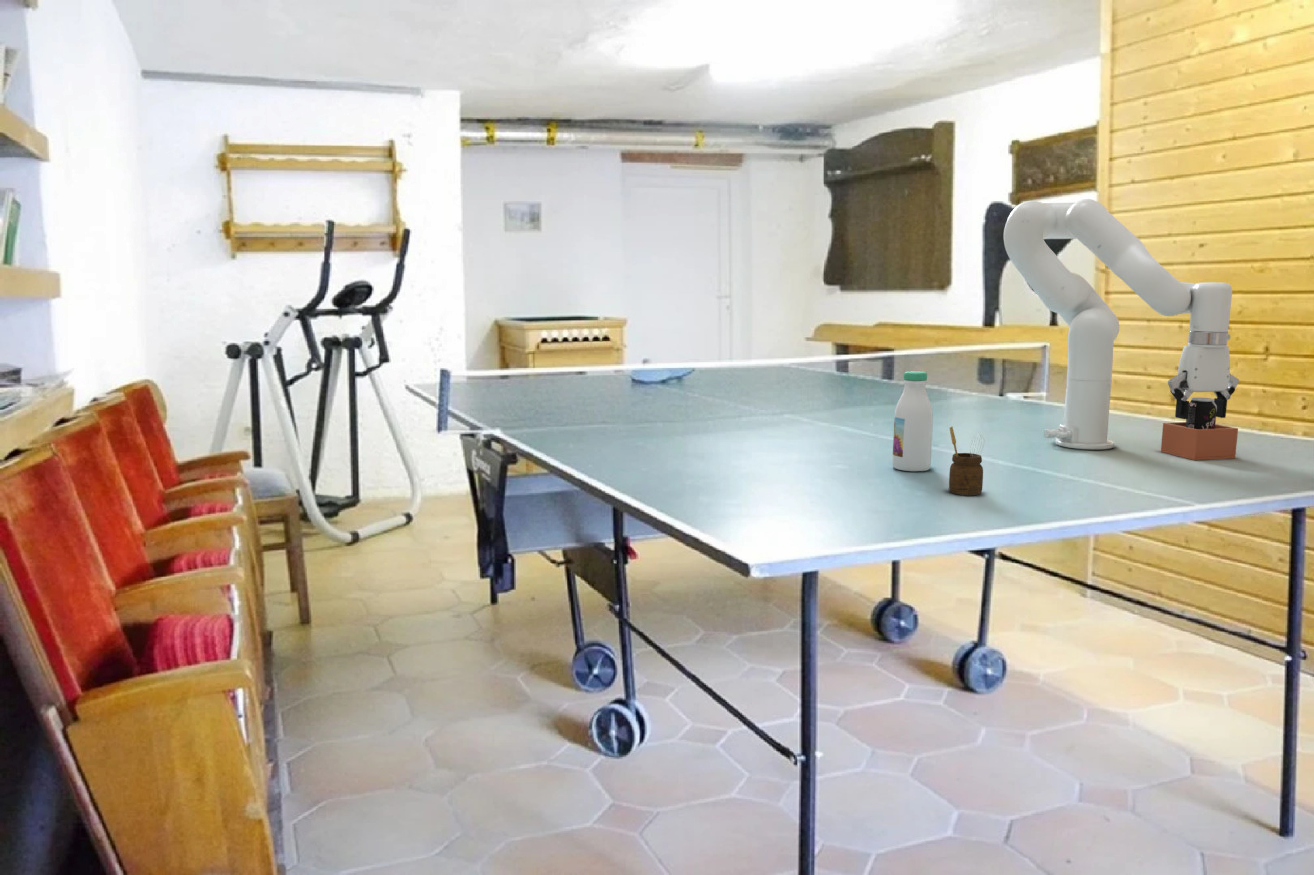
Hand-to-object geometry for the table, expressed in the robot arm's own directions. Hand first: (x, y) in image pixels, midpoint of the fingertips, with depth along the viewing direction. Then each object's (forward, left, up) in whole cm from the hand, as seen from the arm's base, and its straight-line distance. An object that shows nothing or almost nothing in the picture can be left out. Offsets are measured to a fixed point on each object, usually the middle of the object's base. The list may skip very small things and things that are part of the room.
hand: (1200, 417), depth 223 cm
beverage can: (0, 0, -8) cm, 8 cm away
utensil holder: (-70, -23, -9) cm, 74 cm away
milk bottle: (-69, 0, -9) cm, 69 cm away
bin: (0, 0, -8) cm, 8 cm away
